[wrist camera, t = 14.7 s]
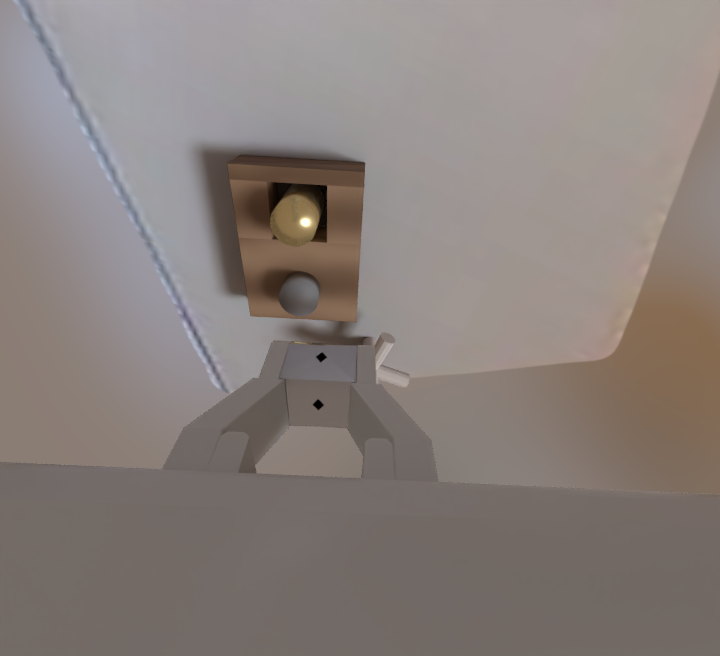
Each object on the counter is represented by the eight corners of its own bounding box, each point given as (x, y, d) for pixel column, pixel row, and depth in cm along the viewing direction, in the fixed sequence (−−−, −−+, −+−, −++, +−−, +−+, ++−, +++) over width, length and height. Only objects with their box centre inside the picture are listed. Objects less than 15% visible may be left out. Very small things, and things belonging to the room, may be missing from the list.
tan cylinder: (284, 179, 35) (268, 200, 30) (324, 182, 35) (315, 202, 30) (286, 219, 38) (272, 245, 32) (324, 221, 38) (316, 247, 32)
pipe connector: (386, 378, 51) (390, 436, 43) (321, 356, 49) (312, 413, 41) (421, 327, 45) (432, 382, 37) (349, 299, 43) (345, 352, 35)
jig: (240, 155, 34) (217, 169, 29) (365, 162, 34) (364, 178, 29) (259, 297, 43) (244, 328, 38) (356, 303, 44) (355, 334, 38)
